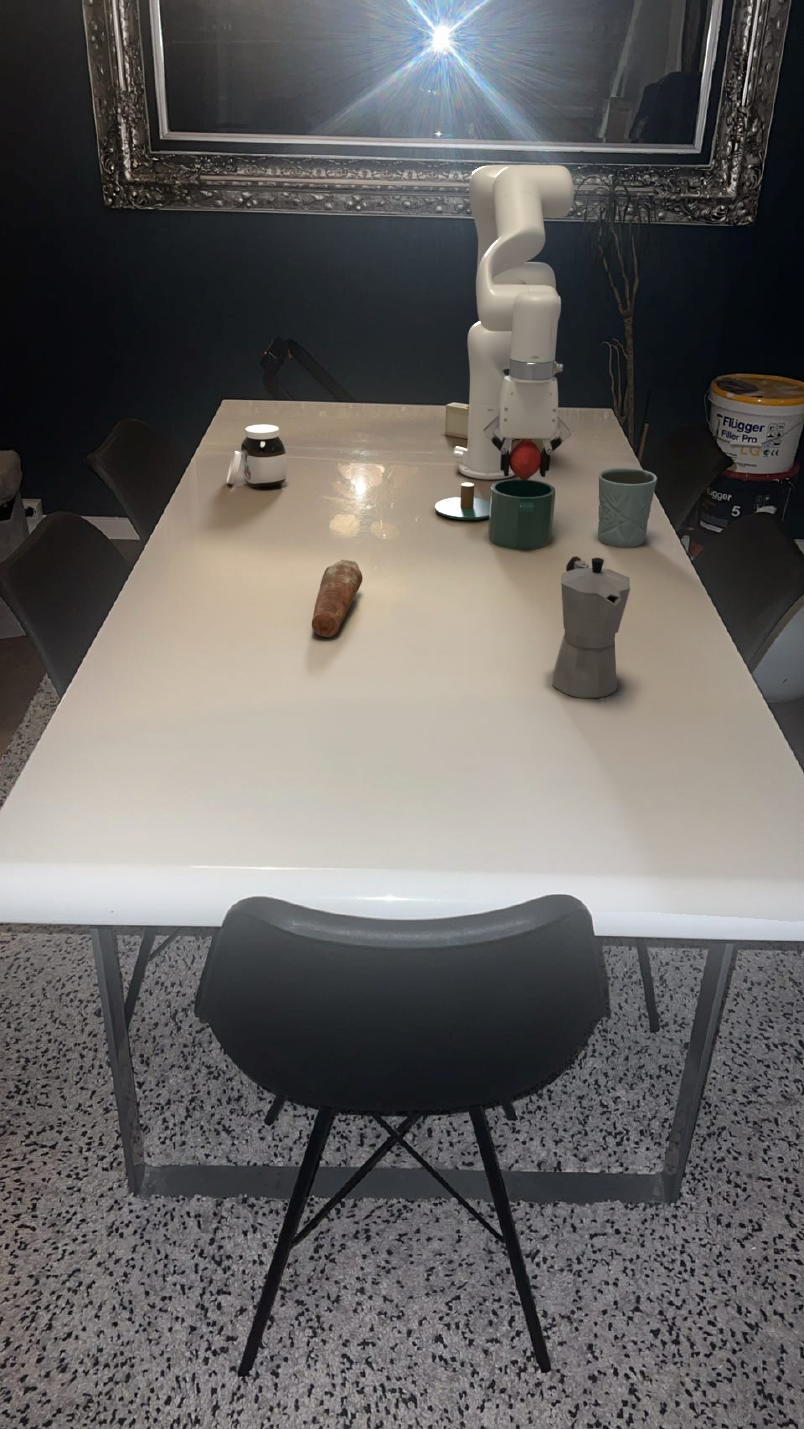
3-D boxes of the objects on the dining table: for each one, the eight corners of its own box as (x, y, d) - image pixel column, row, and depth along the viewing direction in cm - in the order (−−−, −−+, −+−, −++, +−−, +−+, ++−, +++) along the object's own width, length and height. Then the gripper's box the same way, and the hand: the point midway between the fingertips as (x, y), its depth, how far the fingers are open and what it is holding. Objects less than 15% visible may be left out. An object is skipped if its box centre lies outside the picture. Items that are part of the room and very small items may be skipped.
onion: (503, 482, 184) (506, 437, 180) (512, 474, 189) (515, 429, 185) (535, 486, 182) (538, 441, 178) (543, 477, 187) (547, 433, 183)
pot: (491, 554, 183) (494, 502, 179) (485, 523, 198) (488, 474, 193) (556, 555, 183) (560, 503, 179) (545, 524, 198) (549, 475, 193)
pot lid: (435, 522, 198) (436, 493, 195) (434, 502, 209) (435, 474, 206) (500, 523, 198) (502, 494, 195) (495, 503, 209) (497, 475, 206)
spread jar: (292, 487, 216) (290, 431, 210) (243, 496, 211) (240, 439, 205) (265, 473, 225) (262, 419, 219) (218, 481, 219) (213, 426, 213)
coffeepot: (636, 702, 136) (654, 574, 127) (569, 709, 134) (582, 580, 125) (591, 652, 149) (605, 533, 140) (529, 658, 147) (539, 537, 139)
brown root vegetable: (363, 592, 168) (363, 559, 165) (340, 642, 151) (340, 607, 148) (325, 589, 168) (324, 557, 166) (298, 639, 152) (297, 604, 149)
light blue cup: (658, 539, 191) (667, 475, 185) (629, 553, 185) (637, 487, 179) (611, 526, 197) (619, 464, 191) (581, 539, 191) (588, 475, 185)
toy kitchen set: (481, 420, 268) (484, 359, 261) (539, 430, 260) (543, 367, 253) (444, 435, 255) (446, 371, 247) (504, 446, 247) (508, 380, 239)
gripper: (579, 366, 179) (569, 469, 188) (479, 365, 179) (474, 468, 188) (585, 375, 173) (575, 481, 182) (482, 374, 173) (476, 480, 182)
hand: (524, 473), depth 185 cm, fingers closed on onion, 5 cm apart
